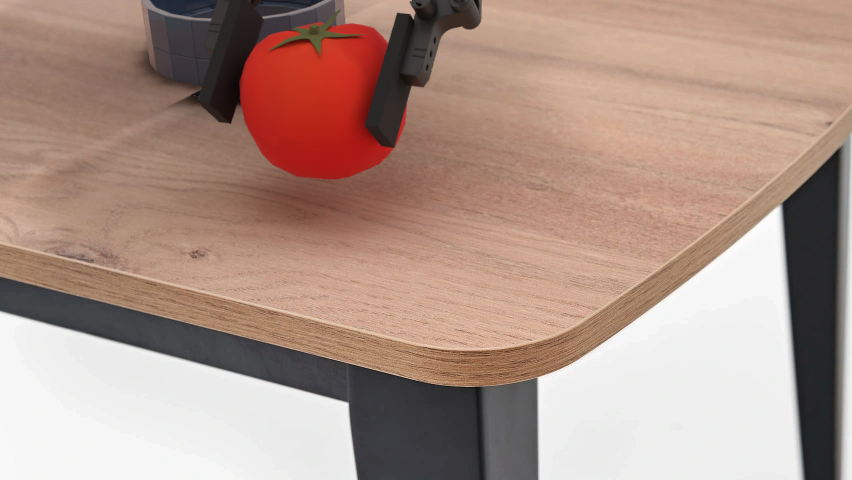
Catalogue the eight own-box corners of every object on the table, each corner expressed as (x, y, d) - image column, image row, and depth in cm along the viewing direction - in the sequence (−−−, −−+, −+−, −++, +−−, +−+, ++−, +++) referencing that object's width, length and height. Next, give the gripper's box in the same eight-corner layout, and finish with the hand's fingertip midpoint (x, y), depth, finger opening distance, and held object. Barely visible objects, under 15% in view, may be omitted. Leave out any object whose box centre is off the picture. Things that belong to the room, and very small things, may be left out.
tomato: (393, 125, 74) (387, -9, 70) (430, 196, 66) (425, 47, 62) (240, 142, 72) (225, 4, 68) (257, 217, 64) (240, 64, 60)
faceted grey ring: (112, 85, 87) (98, 4, 84) (234, 30, 98) (226, -44, 95) (271, 118, 81) (263, 32, 79) (383, 56, 92) (379, -22, 89)
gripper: (596, -180, 70) (504, 179, 65) (261, -199, 77) (153, 126, 71) (574, -271, 63) (469, 123, 58) (207, -284, 70) (84, 69, 64)
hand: (295, 124), depth 65 cm, fingers closed on tomato, 9 cm apart
